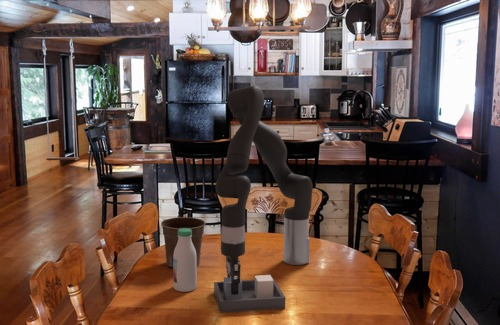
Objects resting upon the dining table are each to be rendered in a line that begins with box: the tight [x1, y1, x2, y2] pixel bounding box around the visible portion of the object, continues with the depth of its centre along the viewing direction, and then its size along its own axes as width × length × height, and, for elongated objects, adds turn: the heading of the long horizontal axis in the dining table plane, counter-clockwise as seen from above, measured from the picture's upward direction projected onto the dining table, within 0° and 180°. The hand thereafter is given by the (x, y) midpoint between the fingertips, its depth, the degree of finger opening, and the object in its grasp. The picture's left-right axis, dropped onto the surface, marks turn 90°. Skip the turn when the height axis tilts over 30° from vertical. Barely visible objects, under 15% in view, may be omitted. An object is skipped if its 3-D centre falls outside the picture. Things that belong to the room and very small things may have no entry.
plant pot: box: [160, 216, 206, 268], centre depth 212 cm, size 16×16×16 cm
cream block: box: [254, 274, 274, 298], centre depth 181 cm, size 5×5×6 cm
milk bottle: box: [172, 228, 198, 293], centre depth 189 cm, size 8×8×20 cm
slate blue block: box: [223, 276, 242, 300], centre depth 180 cm, size 5×5×6 cm
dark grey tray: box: [213, 278, 286, 314], centre depth 181 cm, size 20×16×4 cm
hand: (232, 289), depth 180 cm, fingers open, 7 cm apart
